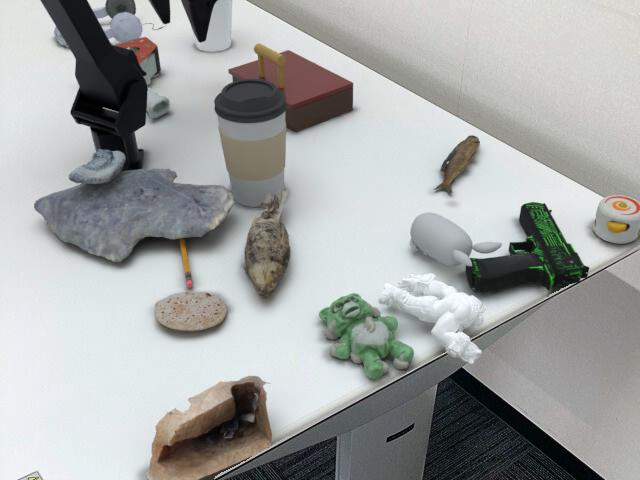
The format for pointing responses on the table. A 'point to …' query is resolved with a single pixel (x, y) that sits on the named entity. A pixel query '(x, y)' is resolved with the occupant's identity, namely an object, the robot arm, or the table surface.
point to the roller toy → (618, 219)
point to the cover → (292, 76)
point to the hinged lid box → (318, 110)
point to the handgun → (530, 257)
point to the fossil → (99, 168)
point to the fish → (458, 160)
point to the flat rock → (133, 211)
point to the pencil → (186, 263)
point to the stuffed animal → (364, 335)
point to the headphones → (117, 21)
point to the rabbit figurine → (445, 240)
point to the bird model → (268, 245)
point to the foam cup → (218, 28)
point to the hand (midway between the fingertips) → (184, 32)
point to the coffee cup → (253, 138)
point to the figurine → (439, 311)
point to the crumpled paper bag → (212, 431)
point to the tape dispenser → (149, 72)
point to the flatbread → (190, 311)
